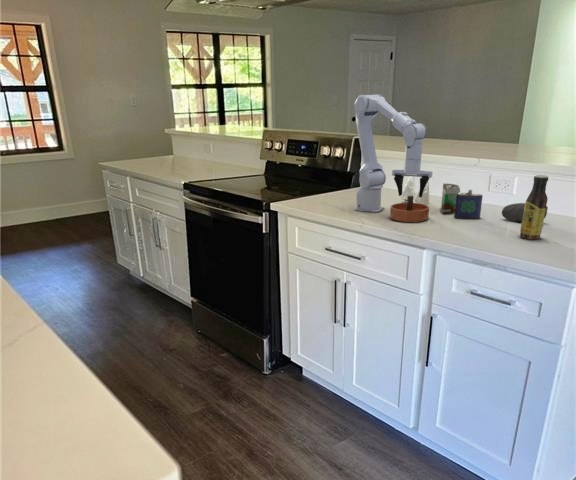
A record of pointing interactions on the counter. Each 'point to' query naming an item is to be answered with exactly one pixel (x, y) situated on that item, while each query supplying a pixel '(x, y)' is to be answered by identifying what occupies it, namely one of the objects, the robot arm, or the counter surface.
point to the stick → (409, 203)
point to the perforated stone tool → (515, 212)
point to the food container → (449, 198)
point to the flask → (468, 205)
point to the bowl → (409, 212)
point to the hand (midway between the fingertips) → (410, 196)
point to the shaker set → (410, 191)
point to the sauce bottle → (535, 209)
